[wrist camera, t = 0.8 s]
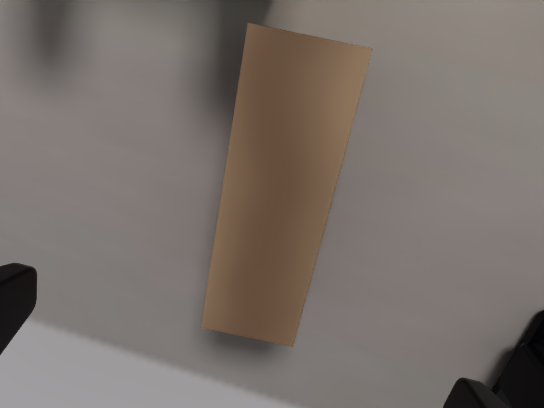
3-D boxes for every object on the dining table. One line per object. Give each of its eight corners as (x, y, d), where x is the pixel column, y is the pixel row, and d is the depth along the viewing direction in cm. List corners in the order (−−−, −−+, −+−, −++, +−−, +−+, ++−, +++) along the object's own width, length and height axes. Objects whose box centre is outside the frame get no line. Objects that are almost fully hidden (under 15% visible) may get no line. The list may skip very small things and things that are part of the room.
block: (357, 49, 16) (372, 48, 12) (295, 293, 21) (292, 346, 17) (260, 29, 16) (247, 22, 12) (219, 277, 21) (200, 327, 17)
